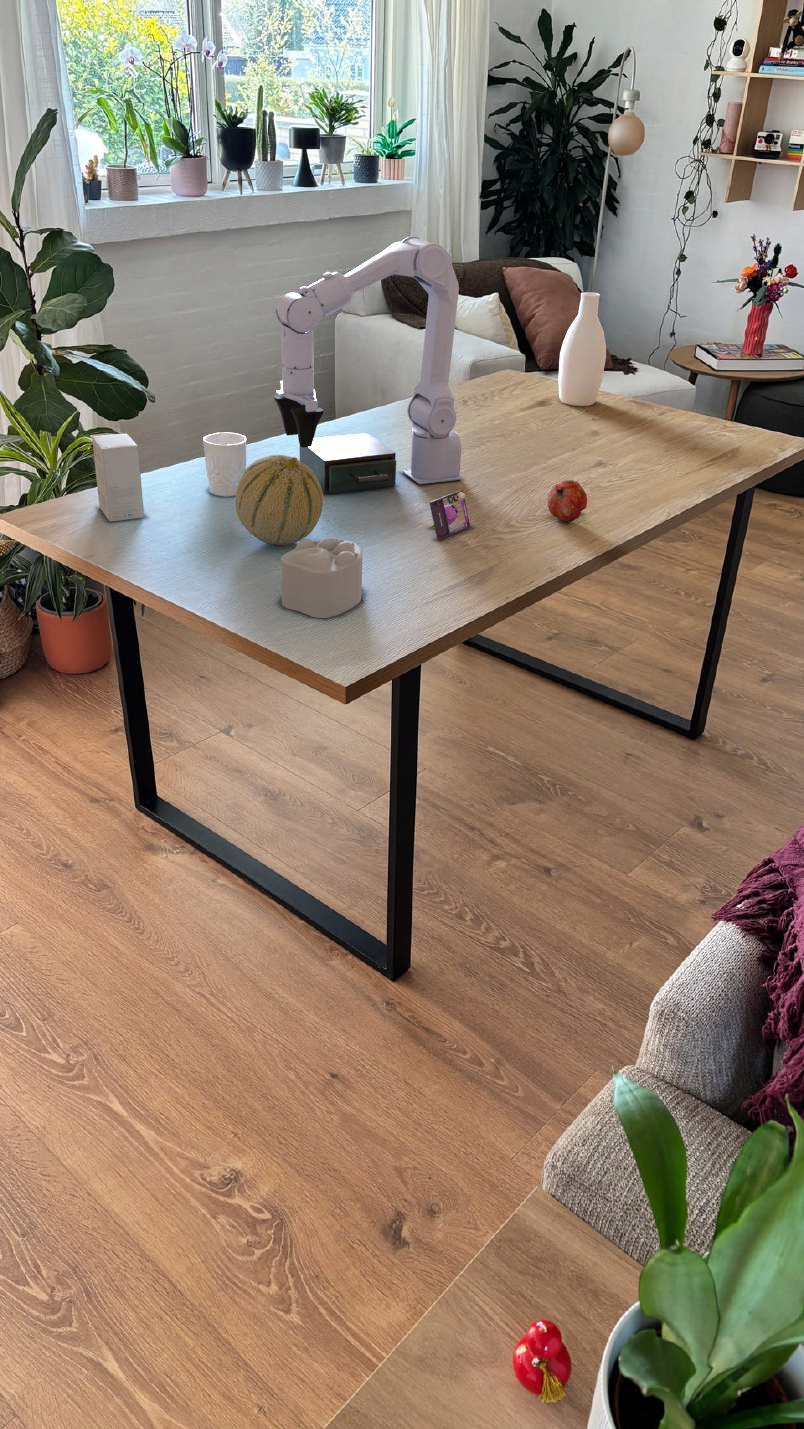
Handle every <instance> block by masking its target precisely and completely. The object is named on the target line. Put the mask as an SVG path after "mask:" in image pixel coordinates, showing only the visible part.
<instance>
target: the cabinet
mask: <svg viewBox="0 0 804 1429" xmlns="http://www.w3.org/2000/svg"><path fill="white" fill-rule="evenodd" d="M396 457H397V456H396V452H395V451H393V449H391V448H390V447H388V446H386V445H385V444H384V443H383V442H381V441H380V440H378V439H377V438H376V437H374V436H372V435H371V434H370V433H368V432H365V433H355V434H346V435H345V434H344V435H334V436H333V435H332V436H324V437H314V440H313V444H312V447H303V448H302V447H300V446H299V461H300V462H302V463H304V464H305V465H307V466H308V467H309V468H310V469H311V470H312V471H313V472H314V474H315V475H316V477H317V479H318V481H319V483H320V486H321V489H322V493H323V495H331V494H339V493H346V492H347V493H348V492H357V491H363V490H364V491H365V490H372V489H382V488H383V489H384V488H390V487H395V485H389V486H381V487H372V488H364V489H355V490H347V491H338V492H330V491H329V485H328V472H329V464H335V463H344V462H353V461H363V460H372V459H381V458H388V459H395V460H396Z"/></svg>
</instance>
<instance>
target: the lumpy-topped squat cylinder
mask: <svg viewBox="0 0 804 1429" xmlns="http://www.w3.org/2000/svg"><path fill="white" fill-rule="evenodd" d="M280 575H281V576H280V580H281V581H280V582H281V584H280V585H281V586H280V587H281V605H282V607H283V608H286V609H288V610H293V611H296V612H300V613H302V614H305V615H307V616H309V617H311V618H312V617H313V618H315V619H328V618H329V619H330V618H333V617H337V616H339V615H341V614H343V613H345V612H347V611H349V610H351V609H353V608H354V607H356V606H357V605H358V604H360V602H361V599H362V596H363V595H362V592H363V591H362V590H363V589H362V586H363V550H362V549H361V547H360V546H359V545H358V544H357V543H355V542H352V541H348V540H344V539H338V538H336V537H334V536H329V537H328V536H327V537H325V538H324V539H323V540H312V539H309V538H303V539H301V540H299V541H298V542H297V544H296V546H295V548H293V549H291V550H289V551H288V552H286V553H284V554H283V555H282V556H281V558H280Z"/></svg>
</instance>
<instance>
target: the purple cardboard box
mask: <svg viewBox="0 0 804 1429" xmlns="http://www.w3.org/2000/svg"><path fill="white" fill-rule="evenodd" d="M445 499H447V500H446V501H447V502H448V504H447V505H445V503H444V500H445ZM458 501H459V502H460V504H461V508H462V509H461V510H462V514H463V517H464V522H463V523H462V526H463V527H461V528H458V529H456V530H453V531H450V527H449V526H450V525H451V524H453V523H454V522H455V521H456V520H457V519H458V518H460V516H459V514H458V513H461V510H459V509H457V505H456V504H453V503H456V502H458ZM429 507H430V511H431V517H432V522H433V524H432V525H431V529H434V531H435V534H436V535H435V536H436V539H437V541H441V540H443V539H445V538H448V537H451V536H453V535H455V534H458V533H460V532H463V531H464V530H467V529H469V528H471V522H470V516H469V512H468V508H467V501H466V494H465V493H464V490H463V489H460V490H458V491H455V492H452V493H450V494H447V495H444V496H442V497H439V498H437V499H434V500H432V501H429Z"/></svg>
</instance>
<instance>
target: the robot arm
mask: <svg viewBox="0 0 804 1429" xmlns="http://www.w3.org/2000/svg"><path fill="white" fill-rule="evenodd" d="M393 275H396V276H404V277H411V278H412V279H414V280H416V281H417V282H418V284H419V285H420V286H421V287H422V288H423V289H424V290H425V292H426V293H427V294H428V298H427V299H428V301H427V310H426V321H425V330H424V340H423V350H422V359H421V360H422V361H421V369H420V370H421V371H420V380H419V381H418V382H417V383H416V384H415V385H414V387H413V392H412V397H411V398H410V400H409V402H408V405H407V410H406V413H407V417H408V418H409V420H410V422H411V423H412V430H411V431H412V432H411V452H410V454H411V456H410V468H408V469H403V470H402V473H403V474H404V475H405V476H407V477H408V478H409V479H411V480H412V481H414V482H415V483H416V484H418V485H428V484H435V483H443V482H453V481H460V480H462V476H460V475H461V462H462V461H461V460H462V441H461V437H460V435H459V433H458V432H457V431H455V430H454V428H455V426H456V424H457V413H456V410H455V406H454V405H455V404H454V403H455V396H454V394H453V392H452V390H451V388H450V384H449V381H450V372H451V363H452V357H453V356H452V355H453V346H454V337H455V336H454V335H455V327H456V319H457V309H458V302H459V301H458V300H459V292H460V284H459V282H458V279H457V276H456V273H455V270H454V266H453V256H452V255H451V254H450V253H449V252H448V251H447V250H446V249H445V248H444V246H442V245H441V244H439V243H435V242H430V241H428V240H424V239H421V238H420V237H417V236H414V235H413V236H412V235H411V236H407V237H405V238H403V239H402V240H401V241H397V242H394V243H392V244H391V245H389V246H388V247H387V248H386V249H384V250H383V251H381V252H380V253H378V254H376V255H375V256H373V257H371V258H370V259H368V260H367V261H365V262H363V263H362V264H360V265H359V266H357V267H356V268H354V269H352V270H351V271H349V272H347V273H346V274H343V273H340V272H337V271H334V272H330V271H326V272H324V273H323V274H322V278H321V279H319V280H318V281H315V282H314V283H312V284H310V285H308V286H305V285H303V286H301V287H299V292H298V293H297V292H288V293H286V294H285V295H283V296H282V297H281V298H280V301H279V302H278V303H277V308H276V309H275V310H274V311H275V316H276V319H277V320H278V322H279V323H280V324H281V325H280V326H281V327H280V328H281V331H280V332H281V339H280V343H281V380H279V390H276V391H275V396H274V397H273V399H274V402H275V403H276V405H277V408H278V410H279V413H280V416H281V420H282V423H283V428H284V432H285V435H286V436H297V438H298V444H299V448H300V447H302V448H303V447H312V444H313V440H314V438H315V436H316V431H317V427H318V425H319V422H320V420H321V419H322V417H323V415H324V409H322V408H321V407H319V406H318V404H319V403H318V401H319V400H317V397H316V390H315V340H314V339H315V338H314V330H315V329H316V328H317V326H318V324H319V322H320V320H322V319H324V318H326V317H327V316H330V315H331V314H333V313H335V312H337V311H338V310H341V309H343V308H344V307H345V306H348V305H350V304H351V303H352V300H353V297H354V294H355V293H356V292H359V291H362V290H363V289H366V288H367V287H369V286H372V285H373V284H376V283H378V282H380V281H382V280H384V279H387V278H388V277H391V276H393Z"/></svg>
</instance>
